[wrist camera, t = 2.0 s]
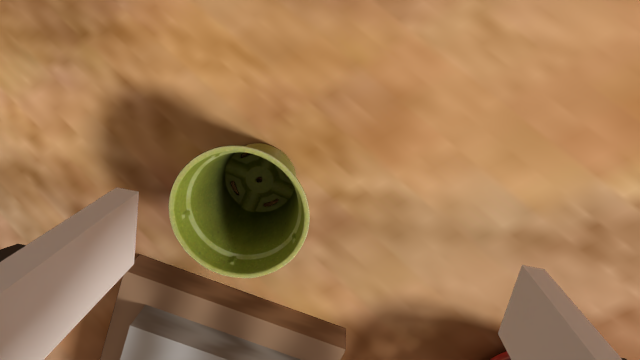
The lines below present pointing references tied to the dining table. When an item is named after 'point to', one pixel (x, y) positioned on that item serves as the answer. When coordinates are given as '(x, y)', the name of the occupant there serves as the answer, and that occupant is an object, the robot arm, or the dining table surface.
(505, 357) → the plant pot
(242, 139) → the dining table surface
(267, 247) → the plant pot
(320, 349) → the stepped square platform
